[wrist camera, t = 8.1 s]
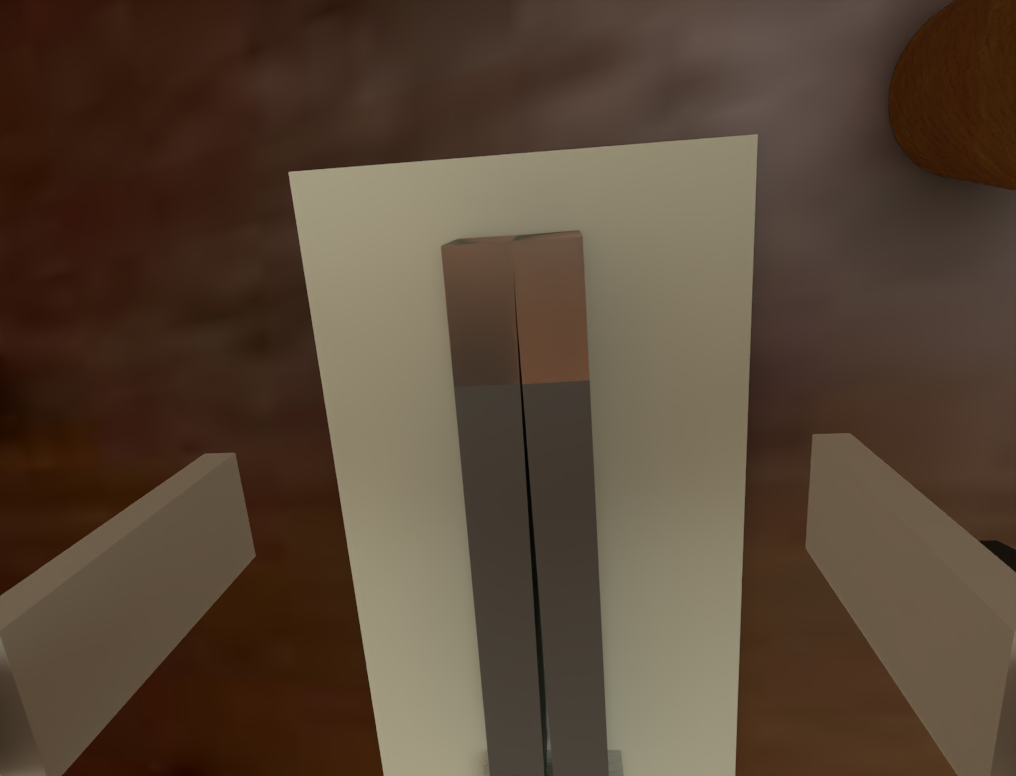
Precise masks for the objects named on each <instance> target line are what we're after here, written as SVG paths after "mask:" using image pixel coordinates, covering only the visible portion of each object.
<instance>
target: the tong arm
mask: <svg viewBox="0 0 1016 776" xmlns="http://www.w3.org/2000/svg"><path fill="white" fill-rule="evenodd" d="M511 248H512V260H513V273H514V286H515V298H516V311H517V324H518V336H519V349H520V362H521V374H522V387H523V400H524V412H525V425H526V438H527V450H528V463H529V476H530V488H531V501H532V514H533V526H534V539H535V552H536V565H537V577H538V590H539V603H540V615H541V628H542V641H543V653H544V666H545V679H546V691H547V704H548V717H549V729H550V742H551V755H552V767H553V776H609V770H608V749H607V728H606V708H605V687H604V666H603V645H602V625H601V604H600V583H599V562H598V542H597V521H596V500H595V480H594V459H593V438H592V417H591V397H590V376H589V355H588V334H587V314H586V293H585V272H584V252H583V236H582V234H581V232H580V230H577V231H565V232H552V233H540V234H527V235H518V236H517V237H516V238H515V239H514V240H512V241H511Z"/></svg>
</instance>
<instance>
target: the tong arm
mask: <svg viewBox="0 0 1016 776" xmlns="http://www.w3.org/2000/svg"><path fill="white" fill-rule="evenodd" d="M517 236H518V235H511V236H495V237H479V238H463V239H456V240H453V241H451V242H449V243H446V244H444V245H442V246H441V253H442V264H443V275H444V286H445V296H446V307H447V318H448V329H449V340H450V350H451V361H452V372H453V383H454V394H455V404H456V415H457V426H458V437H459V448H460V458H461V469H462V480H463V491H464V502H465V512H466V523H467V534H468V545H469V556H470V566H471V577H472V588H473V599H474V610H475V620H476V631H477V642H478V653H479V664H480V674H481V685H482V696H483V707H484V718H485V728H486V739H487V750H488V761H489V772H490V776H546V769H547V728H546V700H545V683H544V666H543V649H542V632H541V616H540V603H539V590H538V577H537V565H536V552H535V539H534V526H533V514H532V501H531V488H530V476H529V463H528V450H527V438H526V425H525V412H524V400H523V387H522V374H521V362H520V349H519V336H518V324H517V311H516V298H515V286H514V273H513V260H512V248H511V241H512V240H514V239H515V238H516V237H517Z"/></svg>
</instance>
